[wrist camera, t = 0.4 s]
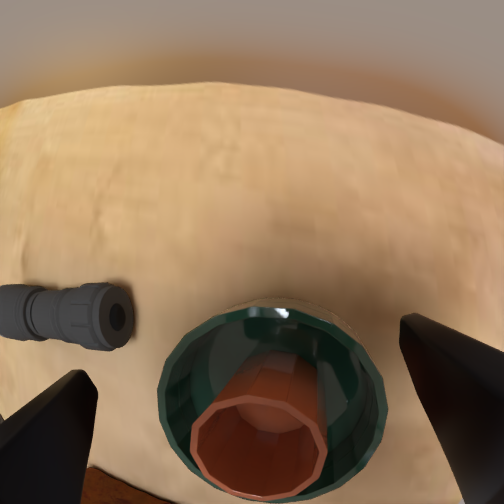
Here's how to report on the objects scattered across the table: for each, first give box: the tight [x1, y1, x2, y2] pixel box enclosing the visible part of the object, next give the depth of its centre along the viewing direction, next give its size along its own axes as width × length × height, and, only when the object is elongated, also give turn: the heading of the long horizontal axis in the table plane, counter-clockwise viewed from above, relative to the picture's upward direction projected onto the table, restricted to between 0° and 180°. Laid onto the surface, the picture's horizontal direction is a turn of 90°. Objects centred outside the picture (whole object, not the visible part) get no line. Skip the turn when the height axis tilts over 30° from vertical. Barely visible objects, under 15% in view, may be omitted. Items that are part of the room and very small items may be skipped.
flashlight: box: [0, 282, 133, 351], centre depth 23 cm, size 15×5×5 cm, turn 94°
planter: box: [157, 297, 388, 504], centre depth 19 cm, size 14×14×5 cm
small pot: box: [190, 350, 328, 501], centre depth 17 cm, size 7×7×8 cm
